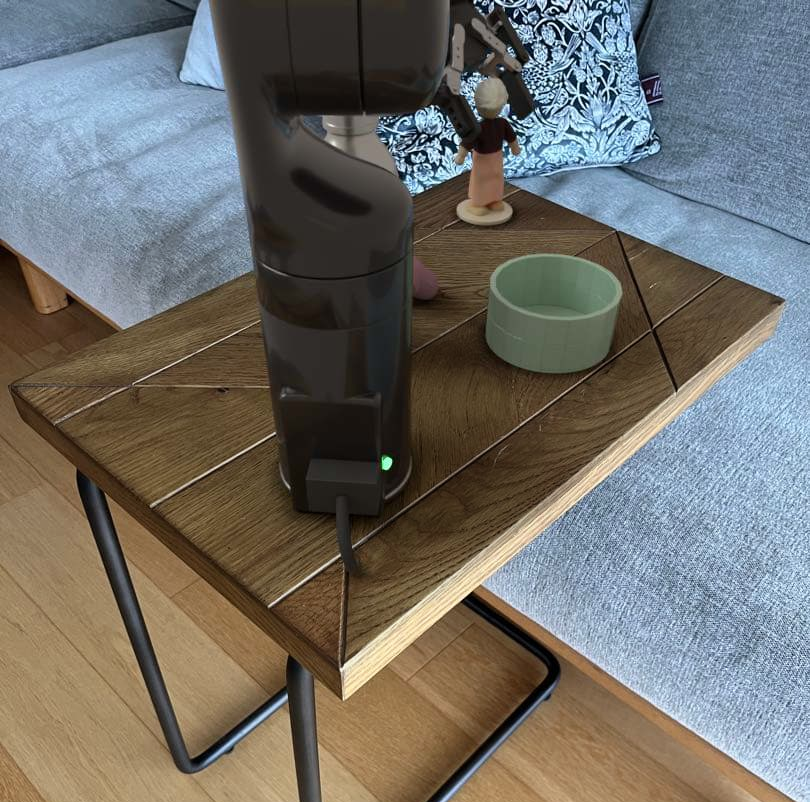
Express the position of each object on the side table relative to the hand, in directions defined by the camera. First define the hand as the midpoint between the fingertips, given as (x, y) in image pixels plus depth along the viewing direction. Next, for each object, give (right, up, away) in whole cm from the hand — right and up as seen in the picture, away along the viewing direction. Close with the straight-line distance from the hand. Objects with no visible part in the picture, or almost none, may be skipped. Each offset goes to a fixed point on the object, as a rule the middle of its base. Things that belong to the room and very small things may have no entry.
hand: (501, 126), depth 80 cm
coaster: (-1, -6, +7) cm, 9 cm away
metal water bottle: (-13, -25, -11) cm, 31 cm away
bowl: (+3, -23, -10) cm, 25 cm away
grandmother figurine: (-1, -6, +7) cm, 9 cm away
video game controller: (-12, -18, -5) cm, 22 cm away
